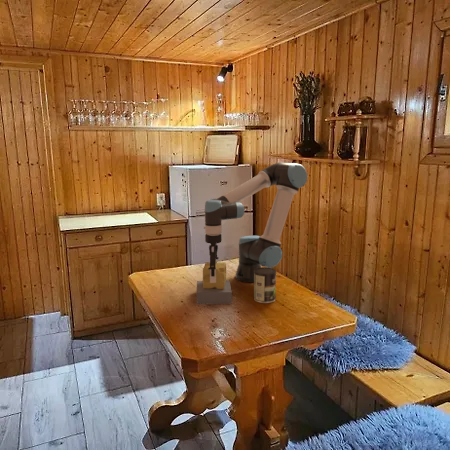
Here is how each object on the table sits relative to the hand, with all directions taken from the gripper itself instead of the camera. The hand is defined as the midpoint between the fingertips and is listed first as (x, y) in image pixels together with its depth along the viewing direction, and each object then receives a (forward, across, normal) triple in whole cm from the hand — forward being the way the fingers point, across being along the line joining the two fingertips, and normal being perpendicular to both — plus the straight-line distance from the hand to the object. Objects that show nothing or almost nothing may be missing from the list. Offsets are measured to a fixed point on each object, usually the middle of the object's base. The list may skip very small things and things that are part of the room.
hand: (213, 277), depth 192 cm
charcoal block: (+10, 0, 0) cm, 10 cm away
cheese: (+4, -1, 0) cm, 5 cm away
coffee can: (+10, +2, +24) cm, 26 cm away
